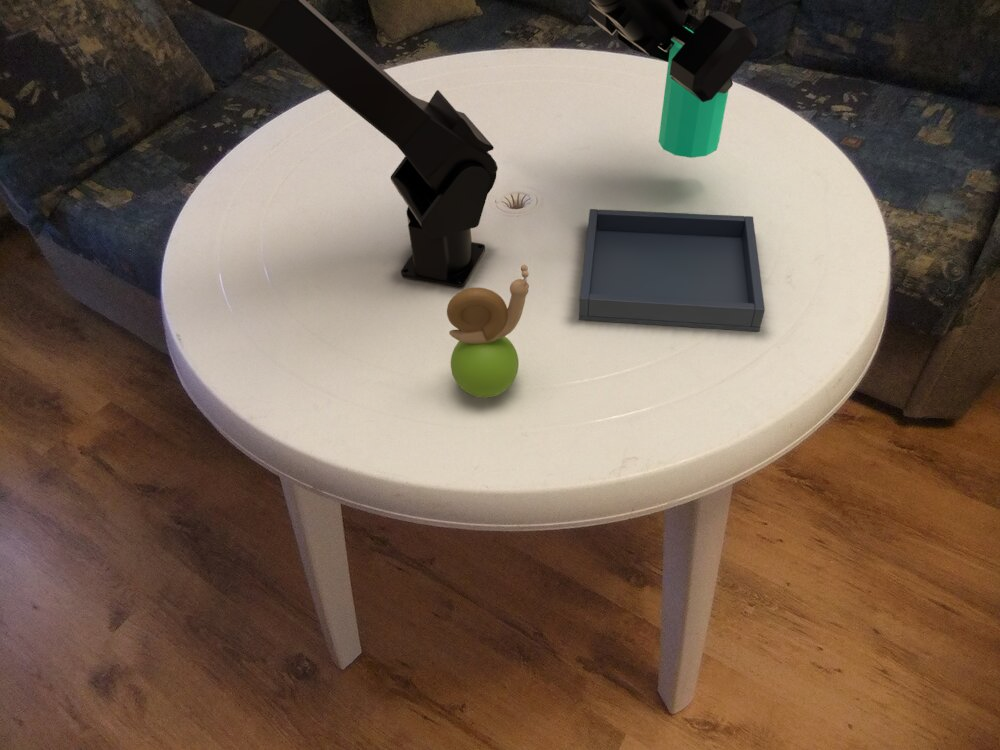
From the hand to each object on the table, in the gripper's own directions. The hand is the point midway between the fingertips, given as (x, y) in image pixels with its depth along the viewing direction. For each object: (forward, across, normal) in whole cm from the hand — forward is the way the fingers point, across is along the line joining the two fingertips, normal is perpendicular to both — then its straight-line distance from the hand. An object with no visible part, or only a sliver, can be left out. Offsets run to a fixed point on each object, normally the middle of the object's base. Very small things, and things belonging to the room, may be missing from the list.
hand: (710, 76), depth 76 cm
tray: (+1, -12, +16) cm, 20 cm away
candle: (+4, 0, +6) cm, 7 cm away
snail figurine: (-13, -17, +31) cm, 37 cm away
